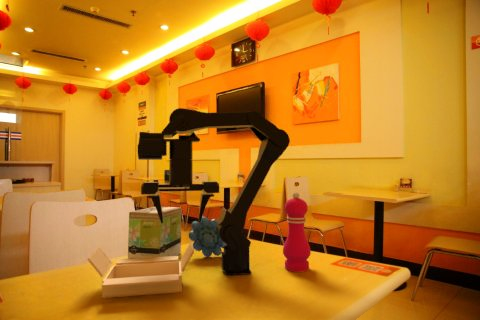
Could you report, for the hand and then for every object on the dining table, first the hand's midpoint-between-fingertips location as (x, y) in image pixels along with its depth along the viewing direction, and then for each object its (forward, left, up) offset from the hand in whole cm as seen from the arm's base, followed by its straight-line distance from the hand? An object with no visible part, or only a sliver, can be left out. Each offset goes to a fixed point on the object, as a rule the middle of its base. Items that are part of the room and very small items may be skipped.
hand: (181, 222), depth 80 cm
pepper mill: (-30, +1, -13) cm, 33 cm away
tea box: (+7, -16, -13) cm, 22 cm away
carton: (+8, +6, -13) cm, 16 cm away
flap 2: (-1, +6, -7) cm, 9 cm away
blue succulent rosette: (-8, -14, -13) cm, 21 cm away
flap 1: (+17, +6, -7) cm, 20 cm away
